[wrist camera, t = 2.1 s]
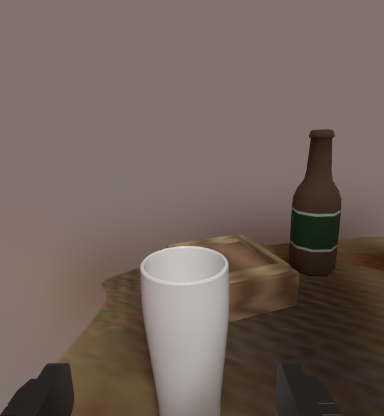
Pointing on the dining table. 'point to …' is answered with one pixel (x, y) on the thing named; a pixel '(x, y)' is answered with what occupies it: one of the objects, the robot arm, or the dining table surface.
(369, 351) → the dining table surface
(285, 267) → the wooden box
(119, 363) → the dining table surface
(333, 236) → the beer bottle
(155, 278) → the drinking glass
